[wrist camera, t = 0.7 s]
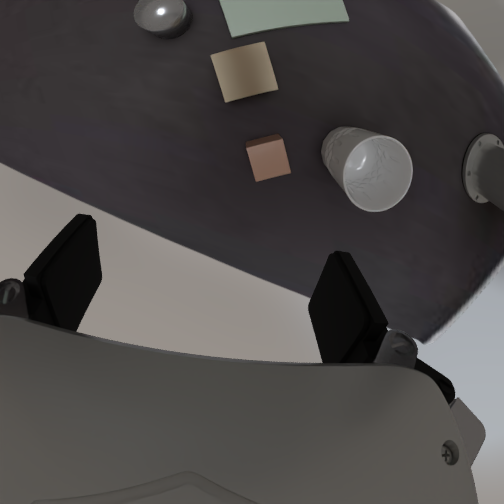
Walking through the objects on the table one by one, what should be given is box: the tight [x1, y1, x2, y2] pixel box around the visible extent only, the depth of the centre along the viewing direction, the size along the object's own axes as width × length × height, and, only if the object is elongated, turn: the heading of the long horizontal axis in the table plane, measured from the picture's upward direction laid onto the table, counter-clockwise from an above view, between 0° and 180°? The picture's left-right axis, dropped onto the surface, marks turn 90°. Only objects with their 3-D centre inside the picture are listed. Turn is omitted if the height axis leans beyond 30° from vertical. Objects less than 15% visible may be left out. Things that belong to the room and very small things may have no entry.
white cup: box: [321, 127, 413, 212], centre depth 28 cm, size 8×8×10 cm
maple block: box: [211, 42, 278, 103], centre depth 24 cm, size 5×5×7 cm
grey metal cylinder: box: [134, 0, 192, 39], centre depth 20 cm, size 5×5×6 cm
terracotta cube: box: [246, 134, 291, 182], centre depth 31 cm, size 4×4×4 cm
